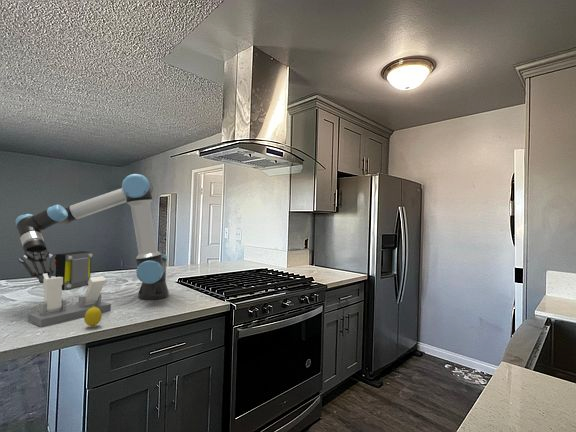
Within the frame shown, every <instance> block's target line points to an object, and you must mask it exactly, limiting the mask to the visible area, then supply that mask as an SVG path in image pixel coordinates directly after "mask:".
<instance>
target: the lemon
mask: <svg viewBox="0 0 576 432" xmlns="http://www.w3.org/2000/svg"><path fill="white" fill-rule="evenodd" d="M102 315H103V313H101V311H100V309H99V308H97V307H95V306H93V307H92V308H90V309H88V310H87V312H86V314H85V317H84V323H85V325H87V326H89V327H90V328H94V327H95V326H97V325H98V324H99V323H100V322H101V320H102V317H103V316H102Z"/></svg>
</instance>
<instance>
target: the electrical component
mask: <svg viewBox="0 0 576 432" xmlns="http://www.w3.org/2000/svg"><path fill="white" fill-rule="evenodd" d="M55 254H56V257H55V277H63V285H62V291H66V290H70V289H74V288H79V287H82V286H83V285H84V286H88V285H87V284H88V281H89V279H90V278H91V272H92V271H91V269H92V258H93V256H94V254H93V252H92V251H83V250H82V251H81V250H79V251H74V252H73V251H72V252H62V253H55Z"/></svg>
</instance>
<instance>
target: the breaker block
mask: <svg viewBox="0 0 576 432" xmlns="http://www.w3.org/2000/svg"><path fill="white" fill-rule="evenodd" d="M77 302H78V303H73V304H70V305H67V300H66V299H64V298H62V307H61V309H59V310H54V311H49V312H46V303H44V301H42V302H39V311H34V312H30V313H27V322H29V323H31V324H33V325H35V326H36V327H40V328H44V327H48V326H49V327H50V326H52V325H56V324H57V325H58V324H61V323H65V322H69V321H73V320H77V319H81V318H85V314H86V312H87V310H88V309H90V308H92V307H93V306H95V307H97V308H99V309H100V311H101V314H103V313H107V312H111V308H112V304H111V303H108V302H105V301H102V293H101V292H100V295H99V297H98V300H97V302H93V303H88V304H85V296H84V295H78V301H77Z"/></svg>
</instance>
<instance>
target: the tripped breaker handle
mask: <svg viewBox="0 0 576 432" xmlns="http://www.w3.org/2000/svg"><path fill="white" fill-rule="evenodd" d="M62 285H63V277H51V278H46V279H44V281H43V283H42V286H43V287H44V286H45V289H44V297H43V299H44V301H43V303H46V312H49V311H54V310H59V309H61V307H62V299H63V297H62V296H63V295H62V293H63V290H62Z"/></svg>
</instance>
